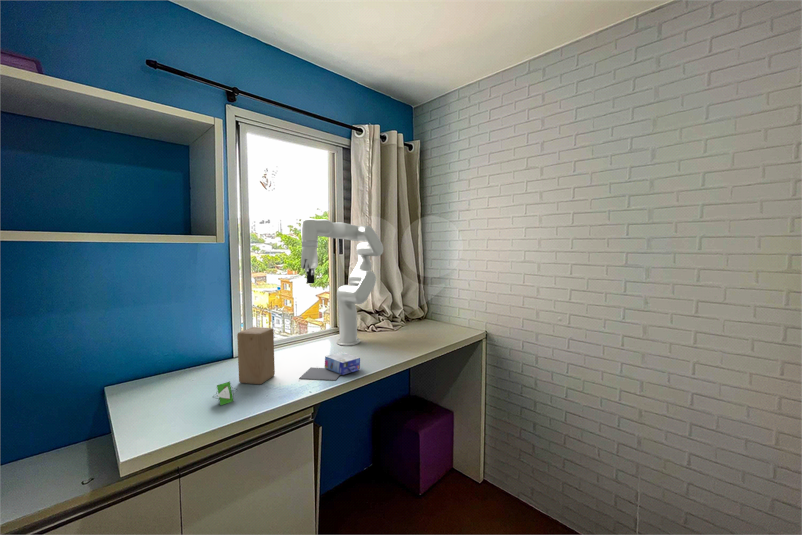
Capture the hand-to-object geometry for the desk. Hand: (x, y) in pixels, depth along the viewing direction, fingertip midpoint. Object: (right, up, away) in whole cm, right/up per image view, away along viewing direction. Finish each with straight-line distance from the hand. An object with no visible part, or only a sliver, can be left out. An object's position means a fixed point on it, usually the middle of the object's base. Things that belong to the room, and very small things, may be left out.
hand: (310, 283), depth 163 cm
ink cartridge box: (+14, -33, -15) cm, 39 cm away
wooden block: (-14, -37, -28) cm, 49 cm away
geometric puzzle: (-16, -39, -48) cm, 64 cm away
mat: (+11, -37, -23) cm, 45 cm away
